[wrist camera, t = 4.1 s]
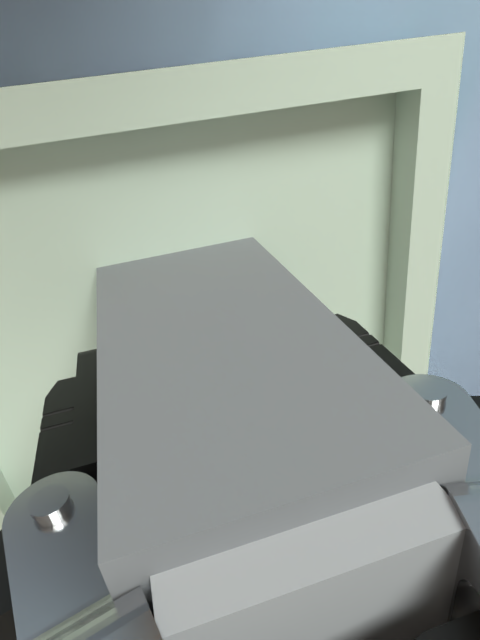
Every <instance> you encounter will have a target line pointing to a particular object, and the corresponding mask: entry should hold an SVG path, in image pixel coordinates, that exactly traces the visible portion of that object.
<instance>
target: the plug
mask: <svg viewBox="0 0 480 640" xmlns="http://www.w3.org/2000/svg"><path fill="white" fill-rule="evenodd" d="M96 295H97V529H98V567H99V569H100V571H101V574H102V576H103V578H104V581H105V583H106V586H107V588H108V590H109V593H110V595H111V597H112V600H113V601H114V600H116V599H118V598H119V597H121V596H123V595H124V594H126V593H128V592H129V591H131V590H133V589H135V588H136V587H138V586H140V587H141V589H142V591H143V593H144V596H145V598H146V600H147V603H148V605H149V608H150V610H151V612H152V615H153V617H154V620H155V622H156V625H157V627H158V629H159V632H160V634H161V637H162V639H163V640H414V639H416V638H417V637H418V636H419V635H420V634H421V633H423V632H425V631H428V630H430V629H432V628H435V627H437V626H440V625H442V624H445V623H447V619H448V614H449V609H450V604H451V599H452V595H453V590H454V585H455V580H456V575H457V570H458V565H459V560H460V555H461V550H462V545H463V540H464V535H465V530H466V528H465V526H464V524H463V522H462V520H461V518H460V516H459V515H458V513H457V511H456V509H455V507H454V505H453V503H452V501H451V499H450V497H449V495H448V494H447V493H446V492H445V491H444V490H443V488H442V487H441V486H440V485H442V484H454V483H465V478H466V473H467V468H468V462H469V457H470V452H471V446H472V444H471V443H470V442H469V441H468V440H467V439H466V438H465V437H463V436H462V435H461V434H460V433H459V432H458V431H457V430H456V429H455V428H454V427H453V426H452V425H451V424H450V423H449V422H448V421H447V420H446V419H444V418H443V417H442V416H441V415H440V414H439V413H438V412H437V411H436V410H435V409H434V408H433V407H432V406H431V405H430V404H429V403H428V402H427V401H425V400H424V399H423V398H422V397H421V396H420V395H419V394H418V393H417V392H416V391H415V390H414V389H413V388H412V387H411V386H410V385H409V384H408V383H406V382H405V381H404V380H403V379H402V378H401V377H400V376H399V375H398V374H397V373H396V372H395V371H394V370H393V369H392V368H391V367H390V366H389V365H387V364H386V363H385V362H384V361H383V360H382V359H381V358H380V357H379V356H378V355H377V354H376V353H375V352H374V351H373V350H372V349H371V348H370V347H368V346H367V345H366V344H365V343H364V342H363V341H362V340H361V339H360V338H359V337H358V336H357V335H356V334H355V333H354V332H353V331H352V330H351V329H350V328H348V327H347V326H346V325H345V324H344V323H343V322H342V321H341V320H340V319H339V318H338V317H337V316H336V315H335V314H334V313H333V312H332V311H331V310H329V309H328V308H327V307H326V306H325V305H324V304H323V303H322V302H321V301H320V300H319V299H318V298H317V297H316V296H315V295H314V294H313V293H312V292H310V291H309V290H308V289H307V288H306V287H305V286H304V285H303V284H302V283H301V282H300V281H299V280H298V279H297V278H296V277H295V276H294V275H293V274H291V273H290V272H289V271H288V270H287V269H286V268H285V267H284V266H283V265H282V264H281V263H280V262H279V261H278V260H277V259H276V258H275V257H274V256H272V255H271V254H270V253H269V252H268V251H267V250H266V249H265V248H264V247H263V246H262V245H261V244H260V243H259V242H258V241H257V240H256V239H255V238H253V237H250V238H245V239H240V240H235V241H230V242H225V243H220V244H215V245H210V246H205V247H200V248H194V249H189V250H184V251H179V252H174V253H169V254H164V255H159V256H154V257H149V258H144V259H139V260H134V261H129V262H124V263H119V264H114V265H109V266H104V267H99V268H96Z"/></svg>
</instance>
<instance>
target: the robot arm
mask: <svg viewBox="0 0 480 640" xmlns="http://www.w3.org/2000/svg"><path fill="white" fill-rule="evenodd" d="M335 315H336V316H337V317H338V318H339V319H340V320H341V321H342V322H343V323H344V324H345V325H346V326H347V327H348V328H350V329H351V330H352V331H353V332H354V333H355V334H356V335H357V336H358V337H359V338H360V339H361V340H362V341H363V342H364V343H365V344H366V345H367V346H368V347H370V348H371V349H372V350H373V351H374V352H375V353H376V354H377V355H378V356H379V357H380V358H381V359H382V360H383V361H384V362H385V363H386V364H387V365H389V366H390V367H391V368H392V369H393V370H394V371H395V372H396V373H397V374H398V375H399V376H400V377H401V378H402V379H403V380H404V381H405V382H406V383H408V384H409V385H410V386H411V387H412V388H413V389H414V390H415V391H416V392H417V393H418V394H419V395H420V396H421V397H422V398H423V399H424V400H425V401H427V402H428V403H429V404H430V405H431V406H432V407H433V408H434V409H435V410H436V411H437V412H438V413H439V414H440V415H441V416H442V417H443V418H444V419H446V420H447V421H448V422H449V423H450V424H451V425H452V426H453V427H454V428H455V429H456V430H457V431H458V432H459V433H460V434H461V435H462V436H463V437H465V438H466V439H467V440H468V441H469V442H470V443H471V444H472V446H471V452H470V457H469V462H468V468H467V473H466V478H465V483H454V484H442V485H440V486H441V487H442V488H443V490H444V491H445V492H446V493H447V494H448V495H449V497H450V499H451V501H452V503H453V505H454V507H455V509H456V511H457V513H458V515H459V516H460V518H461V520H462V522H463V524H464V526H465V528H466V530H465V535H464V540H463V545H462V550H461V555H460V560H459V565H458V570H457V575H456V580H455V585H454V590H453V595H452V599H451V604H450V609H449V614H448V619H447V623H445V624H442V625H440V626H437V627H435V628H432V629H430V630H428V631H425V632H423V633H421V634H420V635H419V636H418V637H417V638H416V639H414V640H480V396H470V395H469V394H468V393H467V392H466V390H465V389H463V388H462V387H461V386H460V385H458V384H456V383H455V382H453V381H451V380H448V379H445V378H443V377H439V376H435V375H428V374H415V373H414V372H412V371H411V370H410V369H409V368H408V367H407V366H406V365H405V364H403V363H402V362H401V361H400V360H399V359H398V358H397V357H396V356H395V355H393V354H392V353H391V352H390V351H389V350H388V349H387V348H386V347H384V346H383V345H382V344H379V341H378V340H377V339H376V338H374V337H373V336H372V335H369V332H368V331H367V330H366V329H364V328H363V327H362V326H361V325H360V324H359V323H358V322H357V321H355V320H352V319H350V318H347V317H345V316H342V315H340V314H335ZM42 415H43V418H42V419H41V426H40V431H41V432H40V433H39V438H38V444H37V450H36V456H35V462H34V469H33V475H32V481H31V485H30V486H29V487H28V488H26V489H25V490H24V491H23V492H22V493H21V494H20V495H19V496H18V497H17V498H16V499H15V500H14V501H13V502H12V504H11V505H10V506H9V508H8V510H7V511H6V514H5V516H4V518H3V523H2V530H0V640H163V639H162V637H161V634H160V632H159V629H158V627H157V625H156V622H155V620H154V617H153V615H152V612H151V610H150V608H149V605H148V603H147V600H146V598H145V596H144V593H143V591H142V589H141V587H140V586H138V587H136V588H135V589H133V590H131V591H129V592H128V593H126V594H124V595H123V596H121V597H119V598H118V599H116V600H114V601H113V600H112V597H111V595H110V593H109V590H108V588H107V586H106V583H105V581H104V578H103V576H102V574H101V571H100V569H99V567H98V529H97V349H92V350H88V351H84V352H79V353H78V355H77V369H76V376H75V377H71V378H67V379H63V380H59V381H57V382H56V384H55V385H54V386H53V388H52V389H51V390H50V392H49V393H48V394H47V396H46V397H45V401H44V407H43V413H42Z"/></svg>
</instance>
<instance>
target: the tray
mask: <svg viewBox="0 0 480 640" xmlns="http://www.w3.org/2000/svg"><path fill="white" fill-rule="evenodd" d="M464 41H465V32H461V33H452V34H444V35H435V36H427V37H419V38H410V39H402V40H393V41H385V42H377V43H368V44H360V45H352V46H343V47H335V48H326V49H318V50H310V51H301V52H293V53H285V54H276V55H268V56H259V57H251V58H243V59H234V60H226V61H218V62H209V63H201V64H192V65H184V66H176V67H167V68H159V69H151V70H142V71H134V72H125V73H117V74H109V75H100V76H92V77H84V78H75V79H67V80H58V81H50V82H42V83H33V84H25V85H17V86H8V87H0V530H2V523H3V518H4V516H5V514H6V511H7V510H8V508H9V506H10V505H11V504H12V502H13V501H14V500H15V499H16V498H17V497H18V496H19V495H20V494H21V493H22V492H23V491H24V490H25V489H26V488H28V487H29V486H30V485H31V481H32V475H33V469H34V462H35V456H36V450H37V444H38V438H39V433H40V432H41V431H40V426H41V419H42V418H43V415H42V413H43V407H44V401H45V397H46V396H47V394H48V393H49V392H50V390H51V389H52V388H53V386H54V385H55V384H56V382H57V381H59V380H63V379H67V378H71V377H75V376H76V369H77V355H78V353H79V352H84V351H88V350H92V349H97V295H96V268H99V267H104V266H109V265H114V264H119V263H124V262H129V261H134V260H139V259H144V258H149V257H154V256H159V255H164V254H169V253H174V252H179V251H184V250H189V249H194V248H200V247H205V246H210V245H215V244H220V243H225V242H230V241H235V240H240V239H245V238H250V237H253V238H255V239H256V240H257V241H258V242H259V243H260V244H261V245H262V246H263V247H264V248H265V249H266V250H267V251H268V252H269V253H270V254H271V255H272V256H274V257H275V258H276V259H277V260H278V261H279V262H280V263H281V264H282V265H283V266H284V267H285V268H286V269H287V270H288V271H289V272H290V273H291V274H293V275H294V276H295V277H296V278H297V279H298V280H299V281H300V282H301V283H302V284H303V285H304V286H305V287H306V288H307V289H308V290H309V291H310V292H312V293H313V294H314V295H315V296H316V297H317V298H318V299H319V300H320V301H321V302H322V303H323V304H324V305H325V306H326V307H327V308H328V309H329V310H331V311H332V312H333V313H334V314H340V315H342V316H345V317H347V318H350V319H352V320H355V321H357V322H358V323H359V324H360V325H361V326H362V327H363V328H364V329H366V330H367V331H368V332H369V335H372V336H373V337H374V338H376V339H377V340H378V341H379V344H382V345H383V346H384V347H386V348H387V349H388V350H389V351H390V352H391V353H392V354H393V355H395V356H396V357H397V358H398V359H399V360H400V361H401V362H402V363H403V364H405V365H406V366H407V367H408V368H409V369H410V370H411V371H412V372H414V373H415V374H427V373H428V364H429V355H430V346H431V337H432V328H433V320H434V311H435V302H436V293H437V284H438V275H439V266H440V257H441V248H442V239H443V230H444V221H445V212H446V203H447V194H448V185H449V176H450V167H451V158H452V149H453V140H454V131H455V122H456V113H457V104H458V95H459V86H460V77H461V68H462V59H463V50H464Z"/></svg>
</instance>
